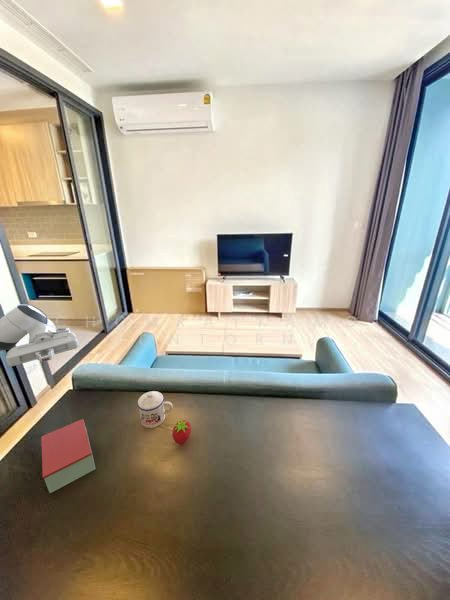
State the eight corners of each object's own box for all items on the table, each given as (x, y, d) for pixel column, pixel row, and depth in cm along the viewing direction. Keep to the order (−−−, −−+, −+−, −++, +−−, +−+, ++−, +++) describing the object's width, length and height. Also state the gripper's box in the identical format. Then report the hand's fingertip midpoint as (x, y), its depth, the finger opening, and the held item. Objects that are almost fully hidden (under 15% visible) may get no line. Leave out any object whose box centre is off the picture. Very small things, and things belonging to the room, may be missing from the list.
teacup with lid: (138, 430, 88) (133, 404, 84) (143, 410, 96) (139, 386, 92) (172, 427, 89) (169, 401, 85) (174, 408, 97) (172, 383, 93)
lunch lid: (91, 454, 72) (91, 453, 72) (43, 479, 66) (42, 477, 65) (83, 420, 84) (83, 418, 83) (41, 438, 77) (41, 436, 77)
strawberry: (194, 434, 86) (192, 412, 82) (188, 454, 79) (186, 431, 75) (177, 432, 87) (175, 410, 83) (170, 452, 80) (168, 429, 76)
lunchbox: (95, 469, 75) (91, 452, 72) (49, 493, 69) (43, 476, 66) (87, 435, 86) (83, 420, 84) (47, 453, 80) (41, 438, 77)
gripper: (4, 342, 84) (0, 362, 74) (73, 326, 95) (78, 341, 85) (10, 358, 86) (7, 379, 76) (77, 340, 98) (82, 356, 87)
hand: (45, 359), depth 80 cm, fingers closed
